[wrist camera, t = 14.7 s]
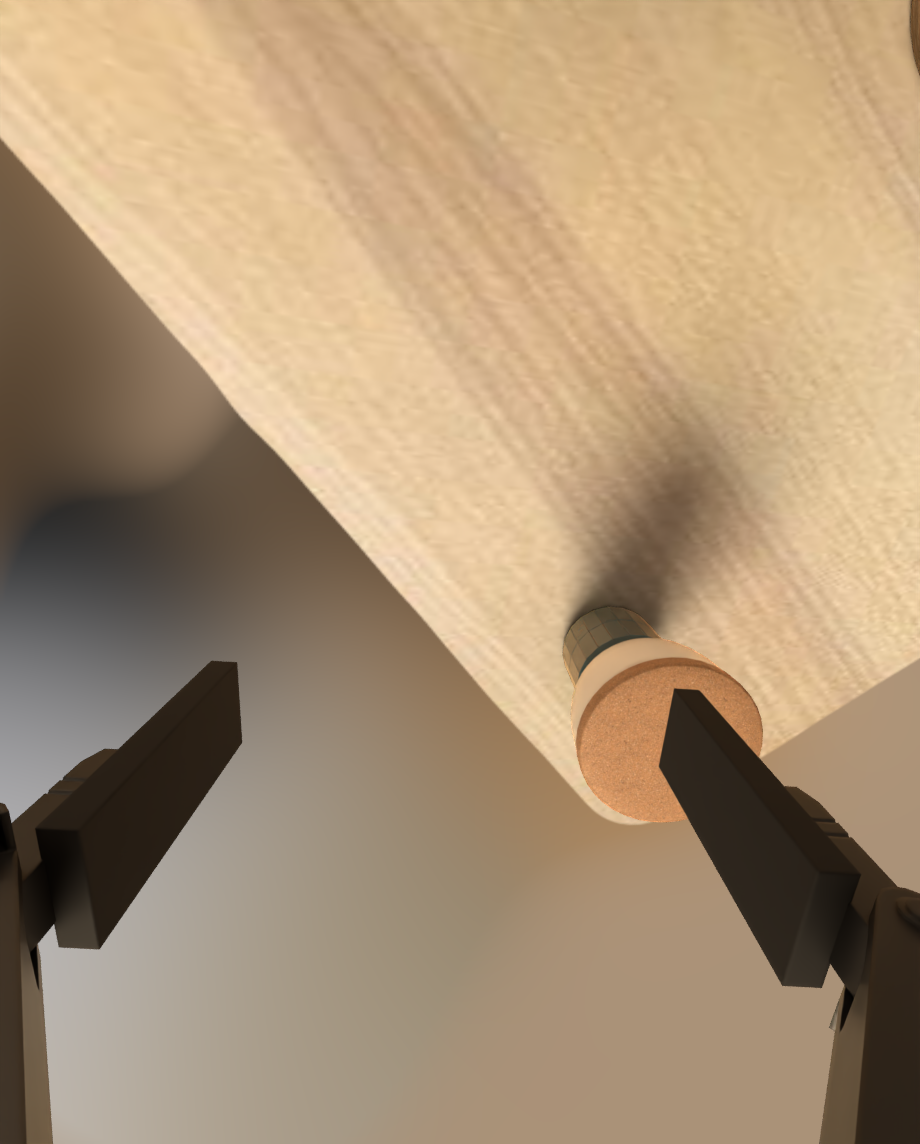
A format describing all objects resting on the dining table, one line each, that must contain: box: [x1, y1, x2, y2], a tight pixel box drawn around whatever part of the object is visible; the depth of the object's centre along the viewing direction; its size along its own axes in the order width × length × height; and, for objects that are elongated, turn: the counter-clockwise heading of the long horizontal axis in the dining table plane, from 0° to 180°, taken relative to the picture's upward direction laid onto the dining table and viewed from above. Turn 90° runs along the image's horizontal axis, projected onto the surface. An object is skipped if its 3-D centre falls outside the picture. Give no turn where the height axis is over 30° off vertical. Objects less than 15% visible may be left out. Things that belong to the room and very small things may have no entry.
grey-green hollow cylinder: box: [563, 607, 662, 688], centre depth 41 cm, size 8×8×6 cm
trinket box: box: [571, 638, 763, 822], centre depth 33 cm, size 11×11×9 cm
